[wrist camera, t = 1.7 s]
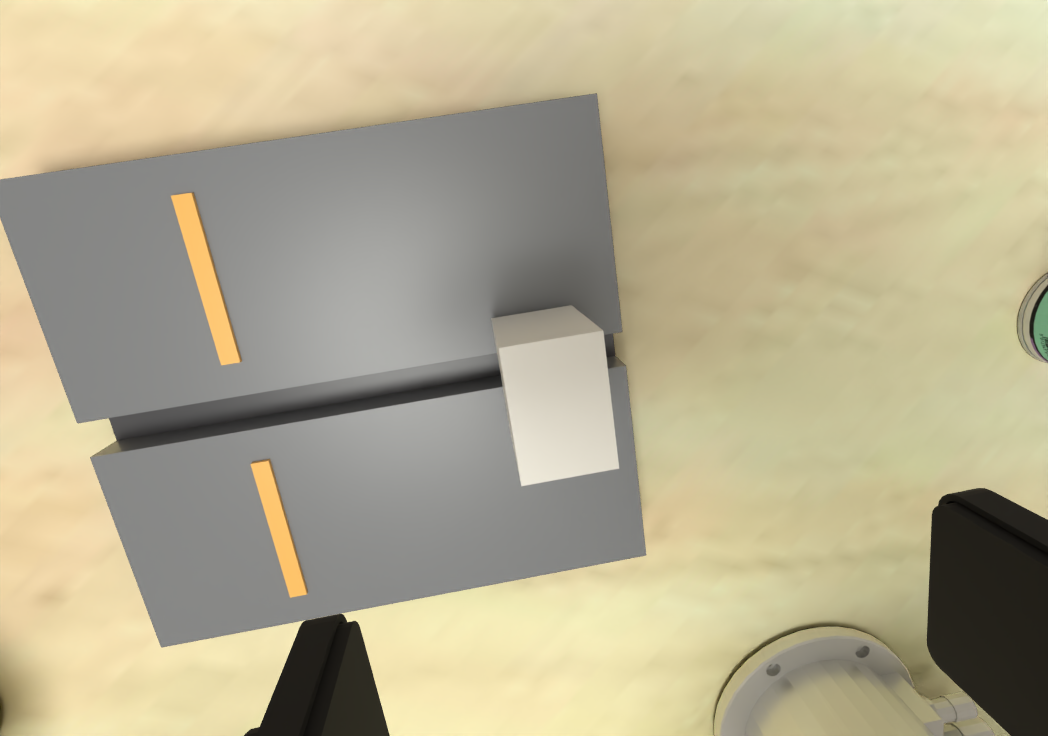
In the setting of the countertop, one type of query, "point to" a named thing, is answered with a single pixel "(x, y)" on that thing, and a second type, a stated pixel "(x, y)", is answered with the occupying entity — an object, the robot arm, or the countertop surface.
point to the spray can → (1035, 321)
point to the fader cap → (556, 394)
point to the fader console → (329, 358)
